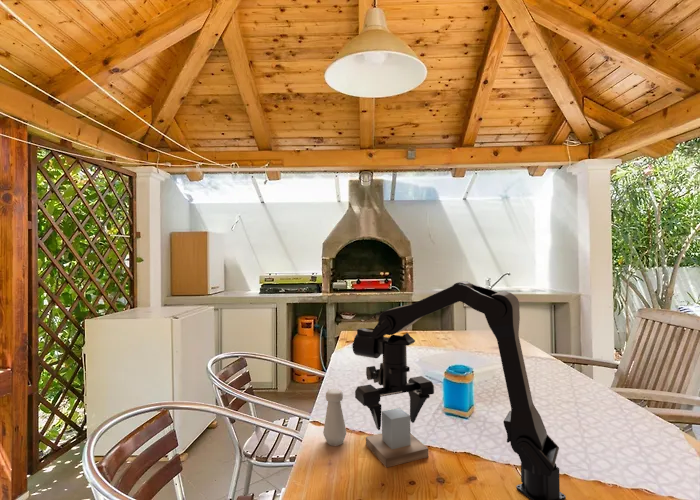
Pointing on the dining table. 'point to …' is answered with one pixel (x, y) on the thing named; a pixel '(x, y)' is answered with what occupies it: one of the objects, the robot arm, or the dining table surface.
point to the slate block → (396, 428)
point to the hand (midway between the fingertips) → (395, 425)
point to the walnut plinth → (396, 451)
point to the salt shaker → (334, 418)
